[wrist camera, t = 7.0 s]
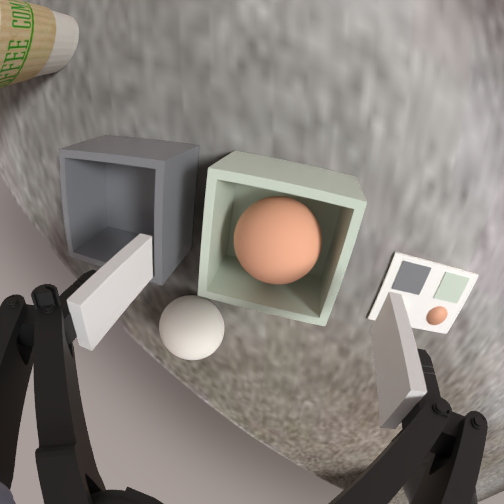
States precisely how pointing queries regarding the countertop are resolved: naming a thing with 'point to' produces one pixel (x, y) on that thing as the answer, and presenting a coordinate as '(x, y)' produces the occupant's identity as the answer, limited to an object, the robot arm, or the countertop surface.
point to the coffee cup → (33, 41)
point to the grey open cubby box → (129, 198)
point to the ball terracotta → (277, 240)
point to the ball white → (191, 327)
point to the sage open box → (287, 185)
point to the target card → (426, 291)
